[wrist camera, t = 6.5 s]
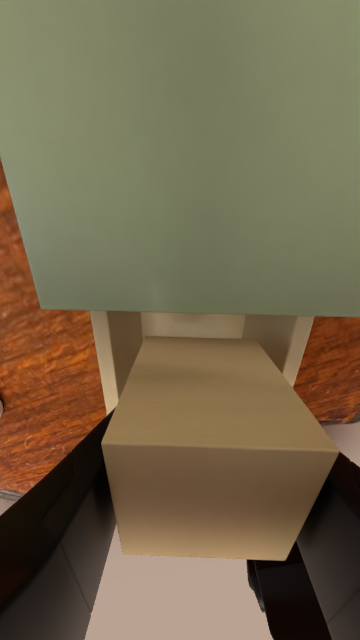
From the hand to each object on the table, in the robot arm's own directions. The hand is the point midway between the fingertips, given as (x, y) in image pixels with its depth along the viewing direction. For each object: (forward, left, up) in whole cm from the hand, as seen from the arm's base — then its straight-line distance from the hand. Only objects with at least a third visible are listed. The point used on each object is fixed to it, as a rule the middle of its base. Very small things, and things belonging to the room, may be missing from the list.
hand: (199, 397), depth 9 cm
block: (0, 0, -1) cm, 1 cm away
